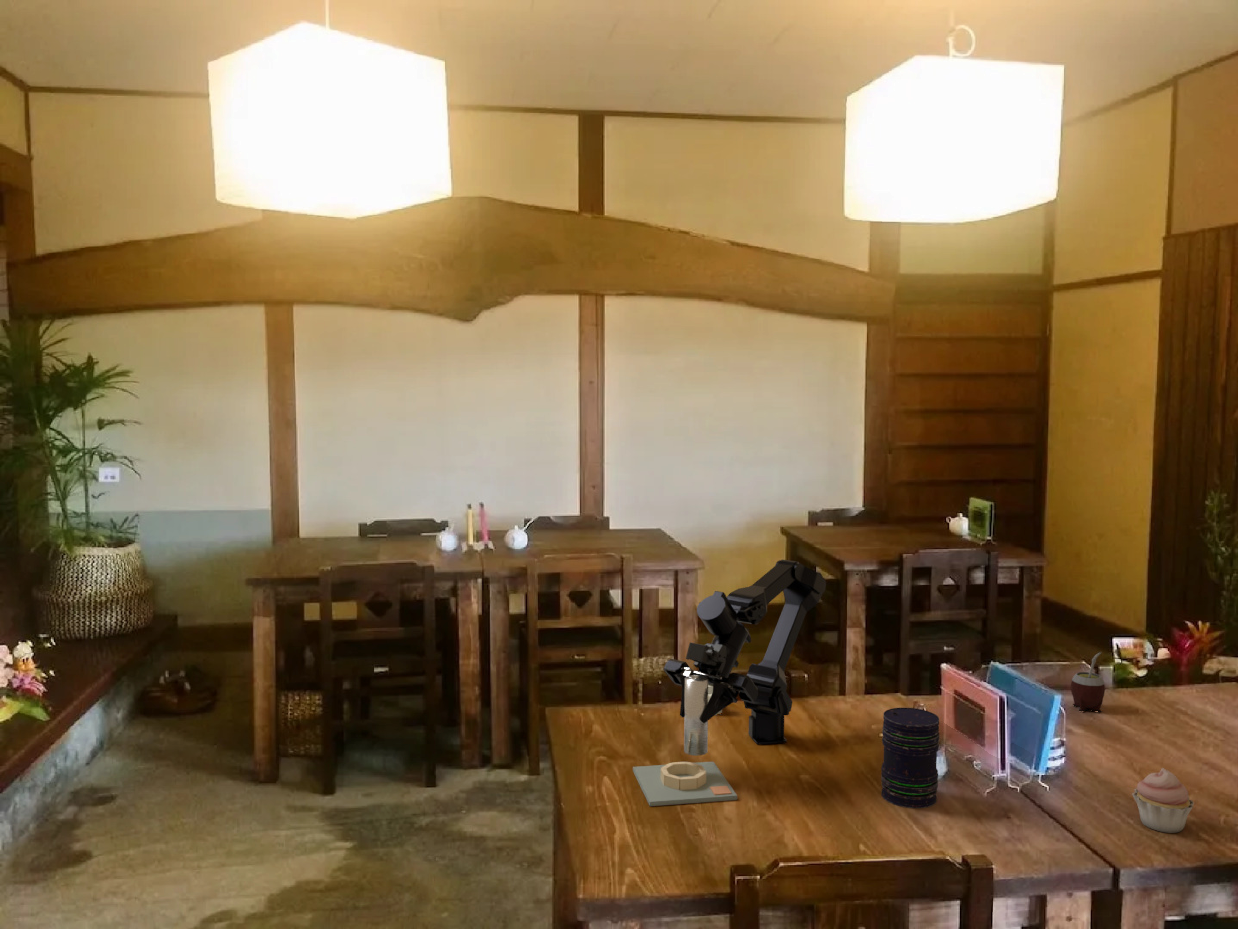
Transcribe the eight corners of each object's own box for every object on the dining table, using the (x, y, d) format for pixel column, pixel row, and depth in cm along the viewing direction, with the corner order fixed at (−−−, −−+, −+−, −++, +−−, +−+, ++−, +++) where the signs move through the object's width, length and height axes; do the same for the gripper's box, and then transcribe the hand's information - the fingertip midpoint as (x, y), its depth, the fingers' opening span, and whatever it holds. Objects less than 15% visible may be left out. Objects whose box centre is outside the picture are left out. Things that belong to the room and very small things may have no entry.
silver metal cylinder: (695, 745, 191) (696, 673, 190) (712, 751, 188) (713, 679, 186) (679, 750, 188) (679, 678, 187) (695, 757, 185) (696, 683, 184)
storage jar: (943, 793, 182) (945, 713, 181) (930, 813, 174) (932, 729, 172) (888, 781, 187) (890, 704, 186) (873, 800, 179) (875, 719, 177)
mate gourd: (1078, 702, 233) (1081, 639, 231) (1113, 711, 227) (1116, 646, 225) (1063, 709, 228) (1066, 644, 227) (1098, 718, 222) (1101, 652, 221)
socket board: (713, 765, 195) (713, 751, 194) (737, 799, 179) (737, 784, 179) (632, 771, 192) (632, 756, 192) (649, 806, 176) (649, 791, 176)
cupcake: (1127, 809, 175) (1130, 754, 174) (1188, 818, 172) (1191, 762, 171) (1133, 832, 166) (1136, 774, 166) (1197, 842, 163) (1200, 783, 162)
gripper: (669, 618, 195) (633, 687, 187) (751, 633, 183) (717, 707, 176) (691, 649, 202) (658, 716, 194) (772, 666, 190) (740, 738, 182)
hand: (691, 719), depth 186 cm, fingers closed on silver metal cylinder, 4 cm apart
